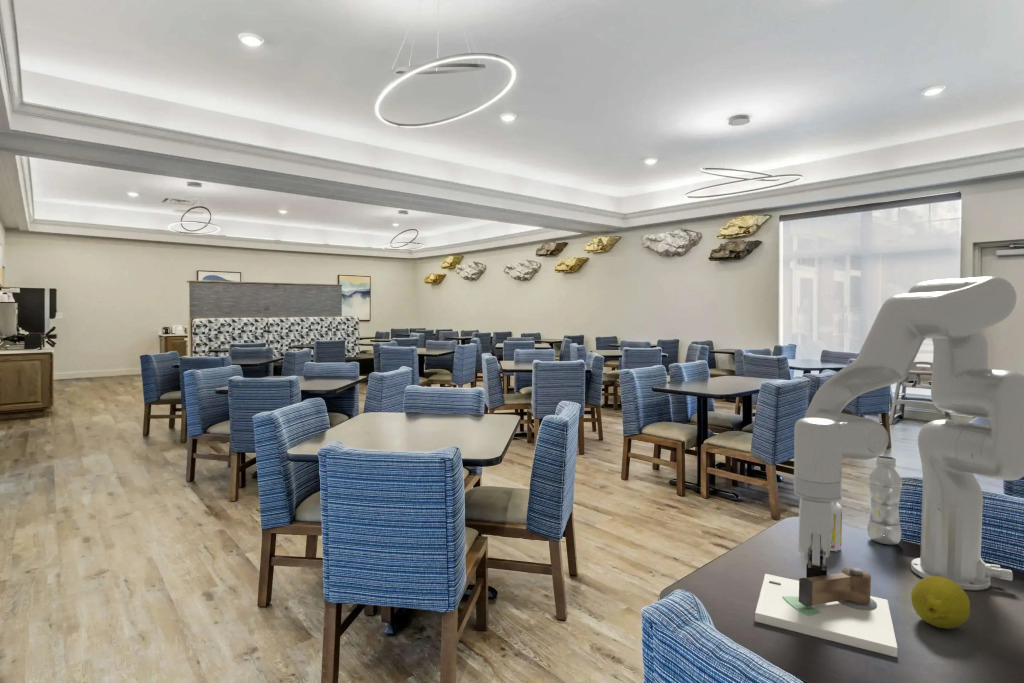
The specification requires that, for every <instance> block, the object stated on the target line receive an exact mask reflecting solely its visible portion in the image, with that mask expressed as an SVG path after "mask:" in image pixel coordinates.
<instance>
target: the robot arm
mask: <svg viewBox="0 0 1024 683" xmlns="http://www.w3.org/2000/svg"><path fill="white" fill-rule="evenodd" d="M1016 304H1017V292H1016V289H1015V287H1014V285H1012V283H1011V282H1010V281H1009V280H1007V279H1005V278H1003V277H1000V276H976V277H975V276H972V277H964V278H963V277H962V278H943V279H942V278H941V279H940V278H939V279H932V280H927V281H922V282H918V283H916V284H914V285H913V286H912V287H911V288H910V289H909V290H908V293H901V294H896V295H893V296H890V297H889V298H887V299H886V300H885V301H884V302H883V304H882V306H881V307H880V309H879V311H878V313H877V315H876V317H875V319H874V321H873V324H872V325H871V328H870V329H869V332H868V333H867V336H866V338H865V339H864V342H863V344H862V346H861V349H860V350H859V352H858V355H857V357H856V358H855V359H854V360H853V361H852V362H851V363H849V364H848V365H846V366H845V367H843V368H841V369H840V370H839V371H838V372H836V373H835V374H833V375H832V376H831V377H830V378H828V379H827V380H826V381H825V382H824V383H823V384H822V385H821V386H820V387H819V388H818V389H817V391H816V392H815V394H814V395H813V397H812V399H811V402H810V403H809V406H808V407H807V410H806V412H805V416H804V417H803V418H799V419H798V420H796V422H795V424H794V427H793V428H794V429H793V430H794V431H793V432H794V433H793V434H794V435H793V439H794V441H793V442H794V443H793V446H794V447H793V448H794V449H793V453H794V454H793V455H794V456H793V494H794V495H795V496H797V497H798V498H799V508H798V510H799V511H798V548H797V549H798V550H797V551H798V552H799V554H801V555H802V554H807V562H806V570H805V572H806V573H805V574H806V576H805V578H809V577H816V576H824V575H828V566H827V565H826V559H828V558H829V557H830V556H831V555H830V554H831V552H830V549H831V542H832V532H833V508H834V502H837V503H838V502H840V501H841V500H842V497H843V496H842V491H843V489H842V487H843V486H842V485H843V480H842V479H843V460H846V459H847V460H858V461H859V460H860V461H864V460H873V459H875V458H876V459H877V457H878V456H882V454H883V453H884V452H885V451H887V450H886V449H887V448H888V446H889V442H890V440H889V433H888V432H887V430H886V428H885V427H884V425H882V424H881V422H878V421H876V420H874V419H871V418H869V417H865V416H864V417H863V416H859V415H854V414H848V413H843V412H842V411H843V410H844V408H845V407H846V406H848V404H849V403H850V402H851V401H853V400H854V399H855V398H857V397H859V396H861V395H864V394H866V393H869V392H871V391H875V390H878V389H882V388H885V387H888V386H891V385H895V384H898V383H899V382H903V381H904V380H905V379H906V378H907V377H908V375H909V373H910V371H911V369H912V367H913V365H914V361H915V359H916V358H917V355H918V353H919V352H920V350H921V347H922V345H923V344H924V341H925V340H926V339H931V340H932V345H933V346H932V347H933V352H932V353H933V356H932V366H931V367H932V368H931V369H932V370H931V382H930V384H931V385H930V396H931V402H932V404H933V405H934V406H935V408H937V410H939V411H943V412H945V413H950V414H954V415H955V414H956V415H961V416H968V417H974V418H979V419H981V418H982V419H986V420H989V422H990V425H983V424H978V423H973V422H967V421H961V420H954V419H935V420H934V419H933V420H931V421H929V422H927V423H925V424H924V425H923V426H922V427H921V428H920V430H919V432H918V436H917V446H918V451H919V456H920V462H921V472H922V494H921V495H922V498H921V502H922V503H921V528H920V555H919V556H920V557H917V558H914V559H912V560H911V562H910V569H911V571H912V572H913V573H915V574H916V575H917V576H919V577H921V578H922V579H923V578H926V577H929V576H941V577H945V578H947V579H950V580H952V581H953V582H955V583H956V584H958V585H959V586H960V587H961V588H962V589H963V590H964V591H965V590H967V591H984V590H986V589H989V588H990V586H991V578H992V577H993V578H998V579H1002V580H1006V581H1011V582H1012V581H1013V579H1014V573H1013V571H1012V570H1011V569H1008V568H1007V569H1006V568H1001V565H1000V564H993V563H987V562H985V560H983V559H982V556H981V555H982V530H983V508H984V507H983V506H984V495H983V494H984V493H983V491H982V488H981V485H980V483H979V481H978V479H977V478H976V476H975V475H980V476H983V477H988V478H993V479H997V480H1002V481H1017V480H1020V479H1022V478H1023V477H1024V374H1022V373H1020V372H1017V371H1013V370H1008V369H1007V370H1006V369H993V368H989V364H988V363H989V362H988V360H989V357H988V354H989V344H988V340H987V337H986V335H985V333H984V332H983V330H985V329H988V328H990V327H993V326H994V325H997V324H999V323H1001V322H1003V321H1004V320H1007V318H1009V316H1011V314H1012V313H1013V311H1014V309H1015V307H1016ZM974 474H975V475H974Z"/></svg>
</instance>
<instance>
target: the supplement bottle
mask: <svg viewBox="0 0 1024 683" xmlns="http://www.w3.org/2000/svg"><path fill="white" fill-rule="evenodd" d="M842 526H843V507H842V505H841V504H840V503H839V502H838V501H837V502H834V508H833V532H832V542H831V549H830V551H835V552H839V551H840V550H841V549H842V542H843V541H842V537H843V536H842V535H843V534H842V533H843V527H842ZM838 550H839V551H838Z"/></svg>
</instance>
